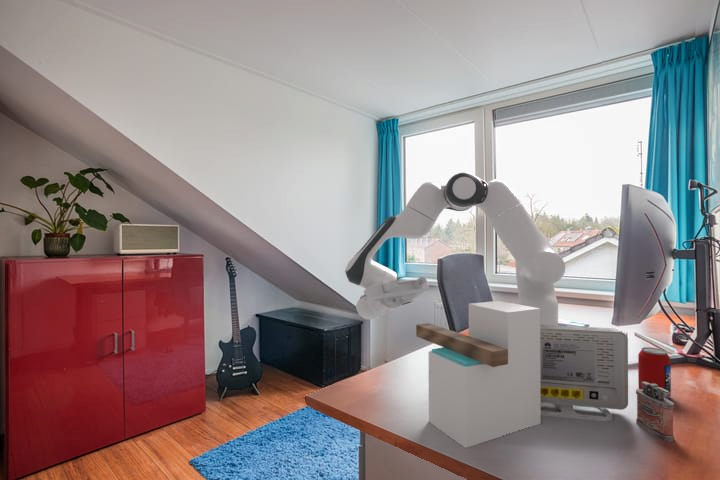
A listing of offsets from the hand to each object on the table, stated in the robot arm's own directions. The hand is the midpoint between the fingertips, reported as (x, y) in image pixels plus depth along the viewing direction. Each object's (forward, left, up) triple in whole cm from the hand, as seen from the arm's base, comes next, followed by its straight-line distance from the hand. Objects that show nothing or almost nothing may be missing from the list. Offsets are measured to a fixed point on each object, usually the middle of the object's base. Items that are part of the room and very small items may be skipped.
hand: (410, 281), depth 102 cm
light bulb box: (-69, -26, -30) cm, 80 cm away
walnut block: (-5, +19, -14) cm, 24 cm away
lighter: (-46, +29, -30) cm, 62 cm away
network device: (-34, +17, -30) cm, 49 cm away
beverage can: (-63, +13, -30) cm, 71 cm away
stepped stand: (-11, +21, -30) cm, 38 cm away
